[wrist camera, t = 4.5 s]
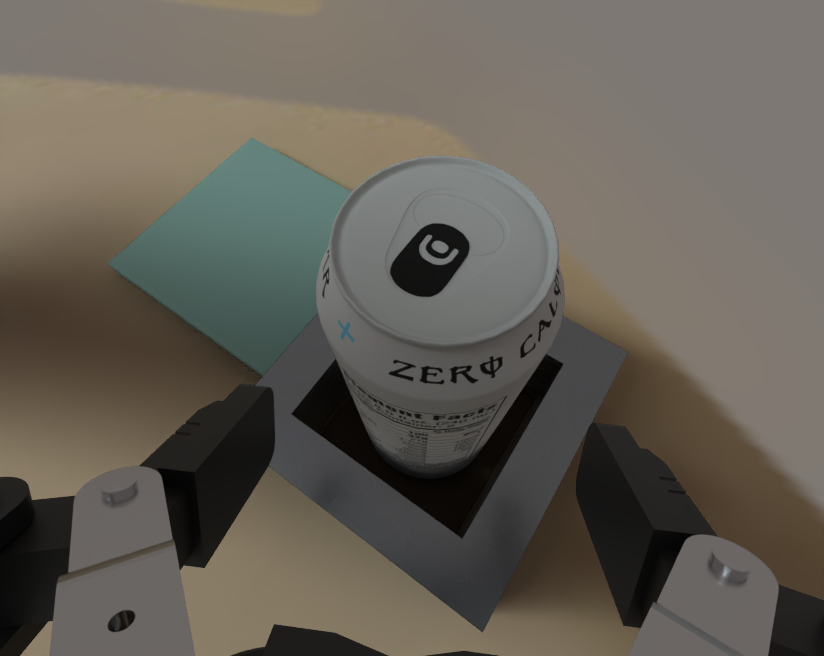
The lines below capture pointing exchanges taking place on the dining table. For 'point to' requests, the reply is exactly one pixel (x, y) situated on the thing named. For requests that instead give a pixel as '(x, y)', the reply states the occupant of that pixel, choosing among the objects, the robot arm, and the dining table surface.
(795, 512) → the dining table surface
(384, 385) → the energy drink can
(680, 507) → the robot arm
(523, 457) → the collar block
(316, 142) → the dining table surface
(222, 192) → the mat
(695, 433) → the dining table surface
